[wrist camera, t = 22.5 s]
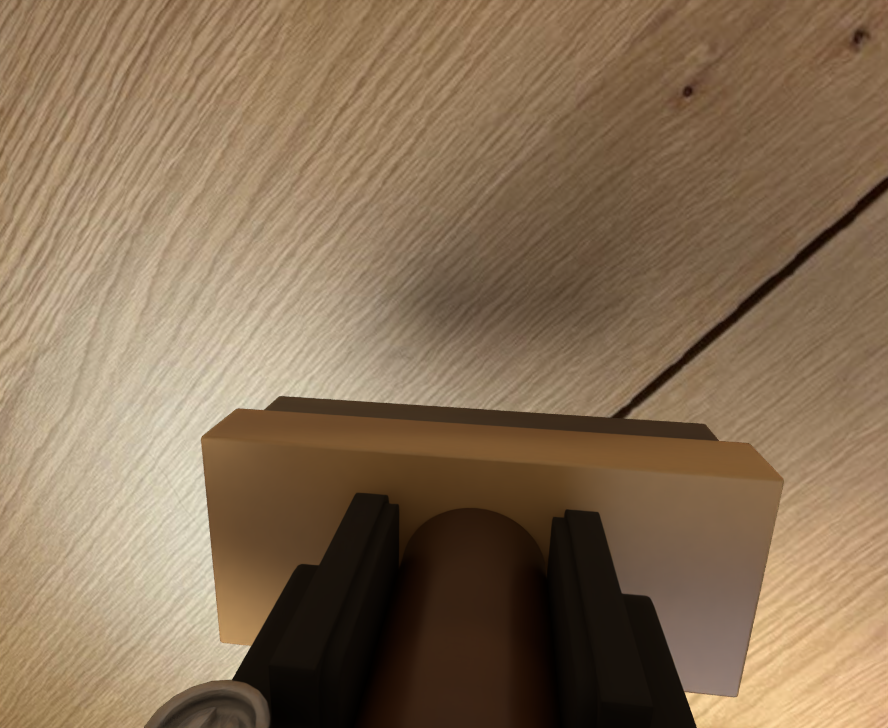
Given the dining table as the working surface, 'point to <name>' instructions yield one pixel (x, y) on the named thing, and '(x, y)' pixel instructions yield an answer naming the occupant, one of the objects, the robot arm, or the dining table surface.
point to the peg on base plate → (491, 540)
